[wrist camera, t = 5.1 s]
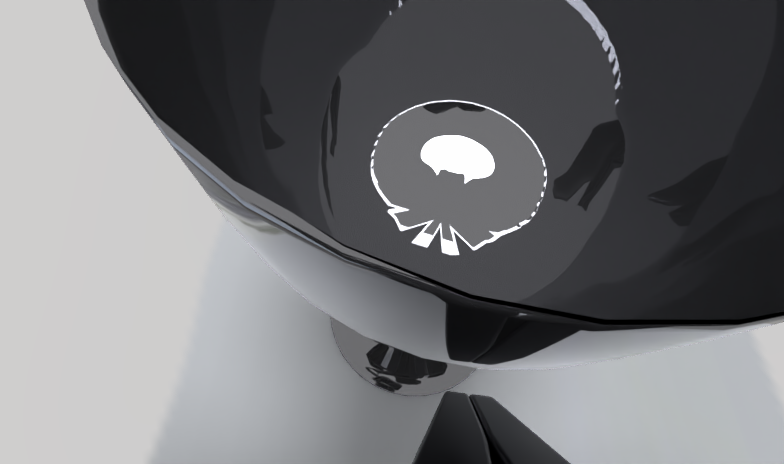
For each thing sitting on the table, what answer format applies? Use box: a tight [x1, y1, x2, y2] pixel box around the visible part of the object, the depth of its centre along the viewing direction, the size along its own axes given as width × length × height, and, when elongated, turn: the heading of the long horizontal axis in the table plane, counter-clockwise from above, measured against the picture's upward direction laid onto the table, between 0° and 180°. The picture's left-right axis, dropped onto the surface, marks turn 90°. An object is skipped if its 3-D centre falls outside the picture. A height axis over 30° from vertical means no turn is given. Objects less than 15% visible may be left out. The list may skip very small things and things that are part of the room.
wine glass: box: [84, 0, 784, 396], centre depth 10 cm, size 8×8×15 cm
